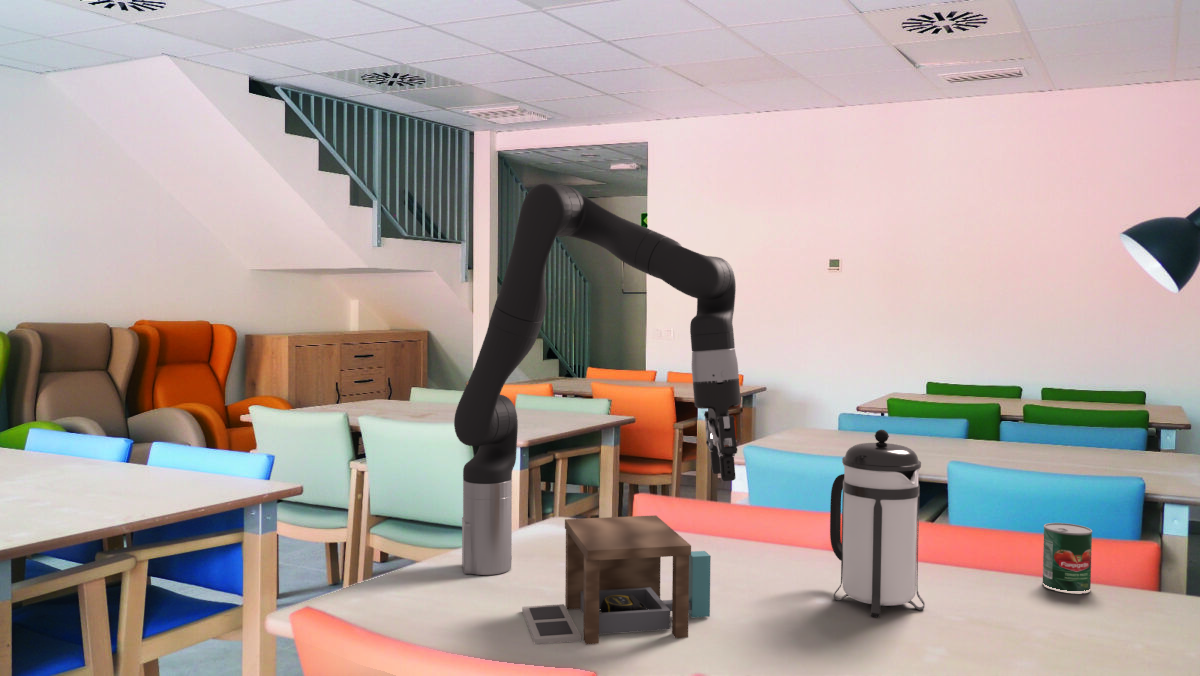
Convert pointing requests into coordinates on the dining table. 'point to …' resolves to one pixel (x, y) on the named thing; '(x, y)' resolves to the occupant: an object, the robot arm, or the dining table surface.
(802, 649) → the dining table surface
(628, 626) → the slider
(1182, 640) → the dining table surface
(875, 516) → the coffee press
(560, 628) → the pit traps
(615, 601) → the tape measure
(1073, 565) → the canned tomato
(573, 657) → the dining table surface
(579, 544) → the small wooden table
